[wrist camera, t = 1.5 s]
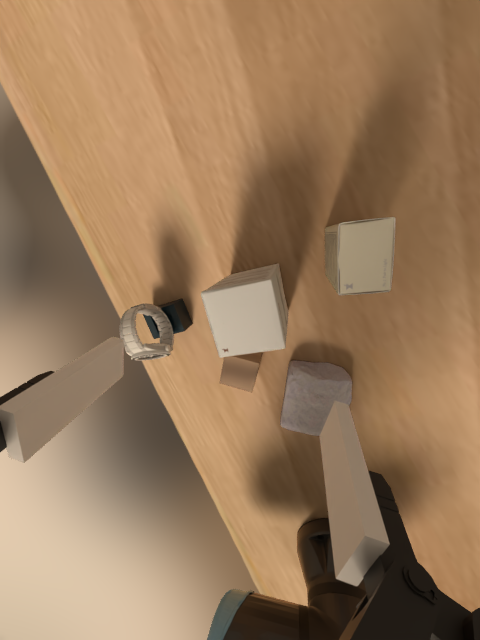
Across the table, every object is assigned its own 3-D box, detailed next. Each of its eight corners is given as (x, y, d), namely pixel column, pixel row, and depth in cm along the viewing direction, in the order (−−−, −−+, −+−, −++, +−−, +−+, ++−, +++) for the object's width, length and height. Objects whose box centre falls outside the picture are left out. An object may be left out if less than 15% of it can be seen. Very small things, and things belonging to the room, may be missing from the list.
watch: (168, 341, 42) (128, 377, 32) (148, 297, 40) (99, 320, 30) (197, 334, 40) (164, 369, 30) (178, 287, 38) (136, 308, 28)
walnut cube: (257, 374, 41) (252, 392, 36) (227, 366, 41) (219, 383, 37) (263, 347, 39) (259, 363, 34) (233, 339, 39) (224, 354, 35)
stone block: (348, 358, 39) (283, 356, 38) (362, 377, 34) (289, 374, 34) (333, 417, 43) (276, 415, 43) (344, 440, 39) (280, 438, 39)
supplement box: (289, 312, 36) (287, 351, 24) (240, 320, 38) (217, 360, 26) (280, 261, 34) (272, 278, 22) (229, 272, 36) (197, 293, 24)
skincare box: (359, 272, 32) (393, 295, 21) (323, 275, 33) (337, 298, 22) (360, 220, 30) (399, 215, 19) (322, 225, 31) (338, 223, 20)
